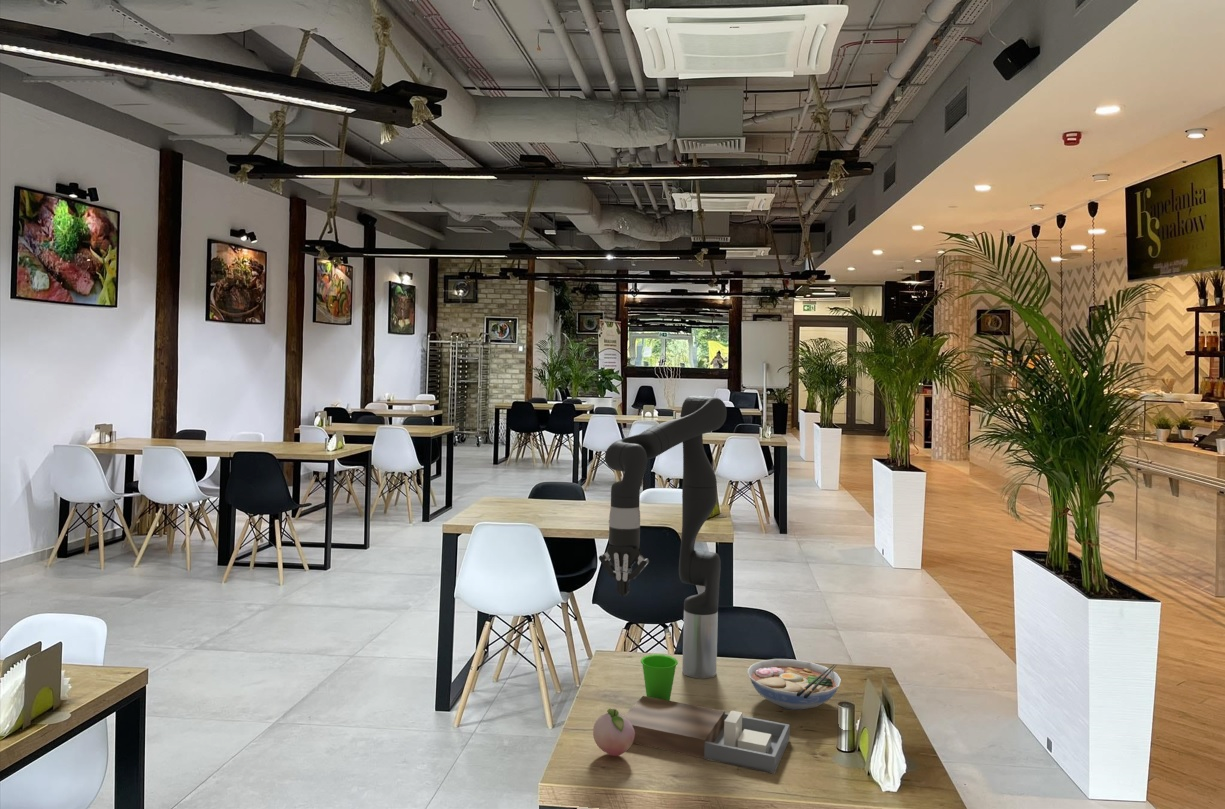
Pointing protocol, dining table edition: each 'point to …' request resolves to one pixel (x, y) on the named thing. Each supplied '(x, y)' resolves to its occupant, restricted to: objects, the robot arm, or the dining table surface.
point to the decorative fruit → (613, 733)
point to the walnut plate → (674, 725)
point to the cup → (659, 675)
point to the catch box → (749, 757)
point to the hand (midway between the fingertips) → (623, 595)
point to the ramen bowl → (794, 682)
